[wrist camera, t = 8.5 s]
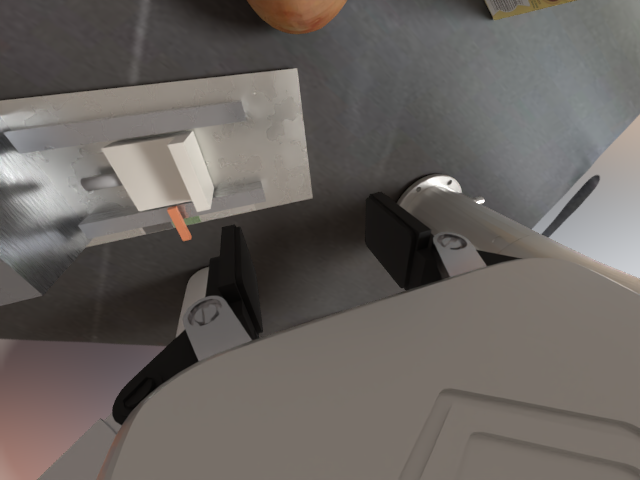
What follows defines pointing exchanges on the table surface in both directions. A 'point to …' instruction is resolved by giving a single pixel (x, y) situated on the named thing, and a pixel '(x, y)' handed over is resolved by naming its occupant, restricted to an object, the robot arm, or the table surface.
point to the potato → (297, 13)
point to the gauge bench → (89, 160)
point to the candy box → (518, 6)
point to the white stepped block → (159, 174)
